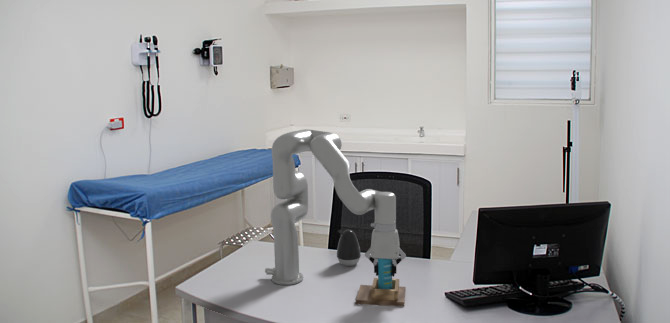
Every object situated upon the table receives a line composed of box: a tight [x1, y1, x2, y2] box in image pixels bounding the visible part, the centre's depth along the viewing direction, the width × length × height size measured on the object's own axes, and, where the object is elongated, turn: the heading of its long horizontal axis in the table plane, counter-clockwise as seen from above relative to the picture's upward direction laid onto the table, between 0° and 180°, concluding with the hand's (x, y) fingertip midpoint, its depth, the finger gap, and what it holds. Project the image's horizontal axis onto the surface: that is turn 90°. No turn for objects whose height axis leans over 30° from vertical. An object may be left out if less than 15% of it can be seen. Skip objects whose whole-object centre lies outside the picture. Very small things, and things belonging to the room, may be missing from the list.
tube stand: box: [355, 277, 407, 307], centre depth 203 cm, size 17×14×5 cm
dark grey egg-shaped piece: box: [336, 229, 362, 267], centre depth 236 cm, size 10×10×15 cm
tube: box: [377, 259, 393, 289], centre depth 201 cm, size 7×5×19 cm, turn 123°
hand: (385, 274), depth 201 cm, fingers closed on tube, 5 cm apart
